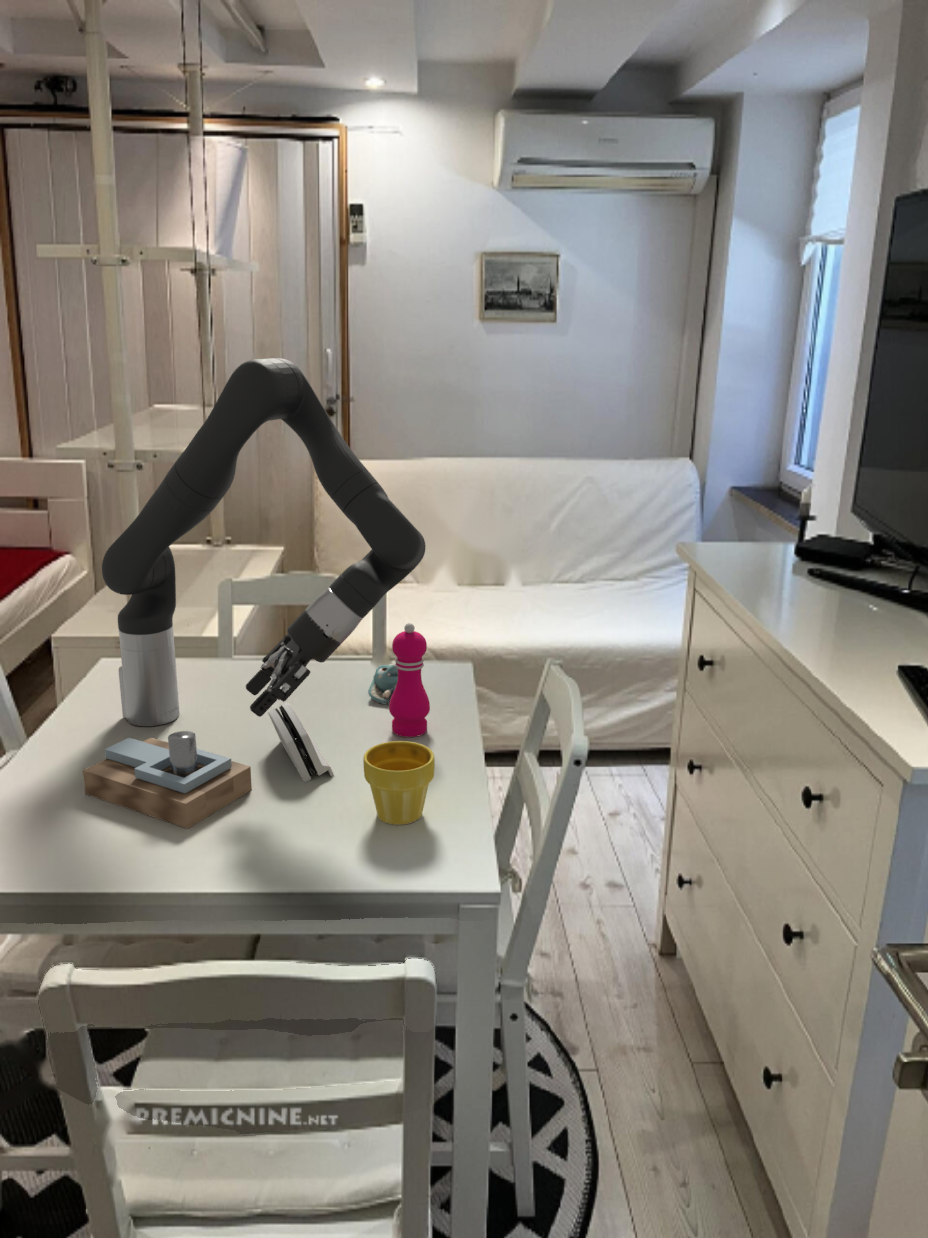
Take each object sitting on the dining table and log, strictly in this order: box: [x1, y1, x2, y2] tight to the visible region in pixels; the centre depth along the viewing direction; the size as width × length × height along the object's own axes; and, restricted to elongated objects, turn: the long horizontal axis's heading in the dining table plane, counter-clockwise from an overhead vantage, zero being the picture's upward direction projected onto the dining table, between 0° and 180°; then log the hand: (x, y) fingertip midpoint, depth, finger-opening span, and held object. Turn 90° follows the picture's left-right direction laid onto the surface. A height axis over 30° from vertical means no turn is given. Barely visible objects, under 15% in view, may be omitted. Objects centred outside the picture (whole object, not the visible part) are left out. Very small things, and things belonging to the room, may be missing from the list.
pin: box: [167, 730, 198, 778], centre depth 153 cm, size 4×4×10 cm
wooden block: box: [82, 737, 253, 830], centre depth 155 cm, size 21×14×4 cm, turn 61°
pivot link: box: [104, 737, 232, 793], centre depth 154 cm, size 19×10×2 cm, turn 61°
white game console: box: [267, 702, 335, 782], centre depth 166 cm, size 17×5×10 cm, turn 23°
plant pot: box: [362, 740, 436, 826], centre depth 148 cm, size 10×10×10 cm
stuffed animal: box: [367, 663, 398, 705], centre depth 193 cm, size 11×7×12 cm
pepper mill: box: [388, 622, 431, 738], centre depth 176 cm, size 7×7×20 cm
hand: (252, 701), depth 152 cm, fingers open, 8 cm apart
